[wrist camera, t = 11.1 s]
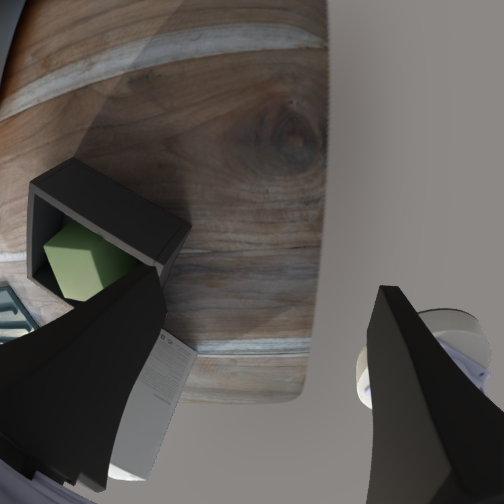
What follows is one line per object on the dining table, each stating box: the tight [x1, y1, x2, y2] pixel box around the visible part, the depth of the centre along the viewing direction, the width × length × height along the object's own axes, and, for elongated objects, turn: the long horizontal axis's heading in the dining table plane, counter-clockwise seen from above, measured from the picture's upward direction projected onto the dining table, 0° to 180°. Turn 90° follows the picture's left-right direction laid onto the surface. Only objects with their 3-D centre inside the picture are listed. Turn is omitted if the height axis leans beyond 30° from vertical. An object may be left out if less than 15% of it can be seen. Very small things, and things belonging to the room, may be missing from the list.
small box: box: [108, 329, 197, 481], centre depth 23 cm, size 8×6×13 cm
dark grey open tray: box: [27, 158, 192, 310], centre depth 20 cm, size 10×9×4 cm
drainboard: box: [0, 287, 39, 344], centre depth 35 cm, size 20×12×1 cm, turn 109°
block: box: [44, 220, 138, 302], centre depth 20 cm, size 4×4×4 cm
